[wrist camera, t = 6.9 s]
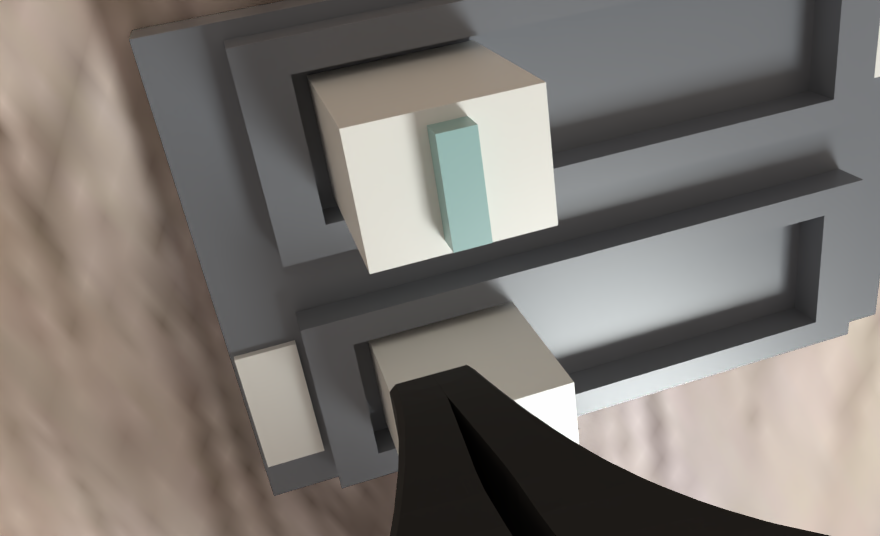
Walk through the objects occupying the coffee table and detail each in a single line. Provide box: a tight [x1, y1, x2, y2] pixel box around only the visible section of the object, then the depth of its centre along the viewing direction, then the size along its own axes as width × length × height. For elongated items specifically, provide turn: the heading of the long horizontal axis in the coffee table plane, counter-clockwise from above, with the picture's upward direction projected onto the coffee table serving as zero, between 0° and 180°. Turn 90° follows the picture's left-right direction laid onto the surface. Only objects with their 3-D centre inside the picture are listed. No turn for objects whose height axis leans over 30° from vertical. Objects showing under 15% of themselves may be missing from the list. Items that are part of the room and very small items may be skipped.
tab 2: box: [368, 301, 579, 453], centre depth 21 cm, size 3×4×5 cm
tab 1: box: [307, 40, 558, 274], centre depth 18 cm, size 3×4×5 cm
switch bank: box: [129, 0, 880, 496], centre depth 22 cm, size 13×20×2 cm, turn 98°
